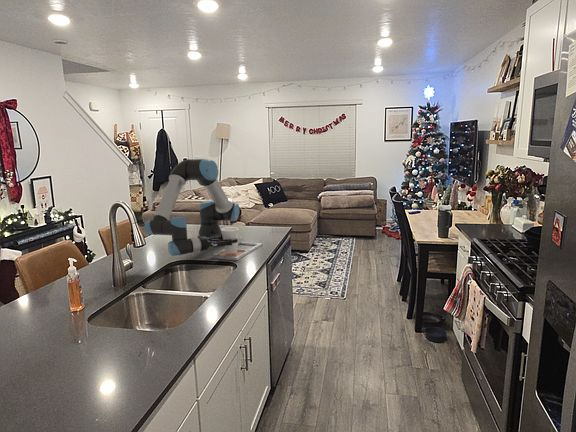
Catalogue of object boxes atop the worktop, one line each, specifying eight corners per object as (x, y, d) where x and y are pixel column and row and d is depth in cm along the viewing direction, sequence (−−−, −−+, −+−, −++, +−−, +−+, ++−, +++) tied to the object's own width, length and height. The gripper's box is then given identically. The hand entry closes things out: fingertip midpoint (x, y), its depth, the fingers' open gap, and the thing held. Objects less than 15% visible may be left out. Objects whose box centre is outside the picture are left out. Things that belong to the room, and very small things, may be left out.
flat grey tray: (238, 243, 237) (238, 241, 236) (262, 245, 231) (262, 243, 231) (211, 257, 209) (210, 255, 208) (237, 260, 203) (236, 258, 202)
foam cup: (219, 253, 210) (218, 230, 208) (228, 249, 219) (226, 226, 216) (234, 255, 207) (233, 231, 204) (243, 250, 215) (241, 227, 213)
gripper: (192, 246, 212) (230, 240, 224) (207, 256, 194) (247, 248, 205) (191, 233, 210) (229, 227, 222) (206, 241, 192) (246, 234, 204)
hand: (238, 237), depth 214 cm, fingers closed on foam cup, 9 cm apart
